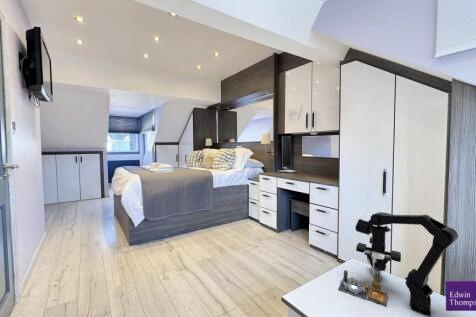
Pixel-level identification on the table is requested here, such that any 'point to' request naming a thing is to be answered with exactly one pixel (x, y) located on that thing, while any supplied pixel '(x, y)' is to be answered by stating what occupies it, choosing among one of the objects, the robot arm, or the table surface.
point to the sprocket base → (353, 292)
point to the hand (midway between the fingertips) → (377, 268)
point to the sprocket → (353, 284)
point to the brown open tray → (377, 296)
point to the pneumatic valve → (377, 264)
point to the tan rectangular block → (376, 283)
